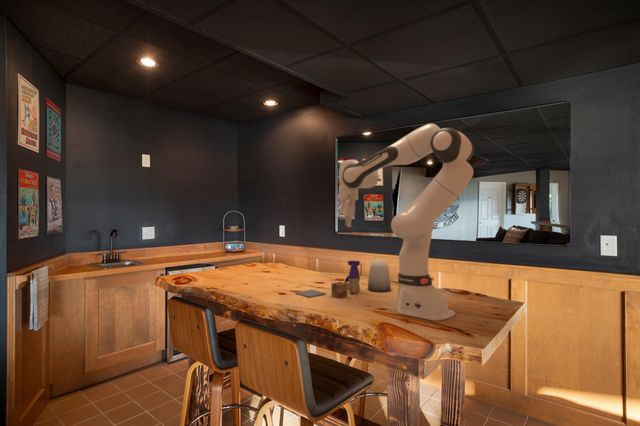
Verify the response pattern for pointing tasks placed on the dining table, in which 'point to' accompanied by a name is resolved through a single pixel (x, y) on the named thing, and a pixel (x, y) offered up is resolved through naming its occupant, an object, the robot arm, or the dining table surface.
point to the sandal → (353, 277)
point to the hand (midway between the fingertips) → (348, 226)
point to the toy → (379, 276)
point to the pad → (310, 293)
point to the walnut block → (339, 290)
